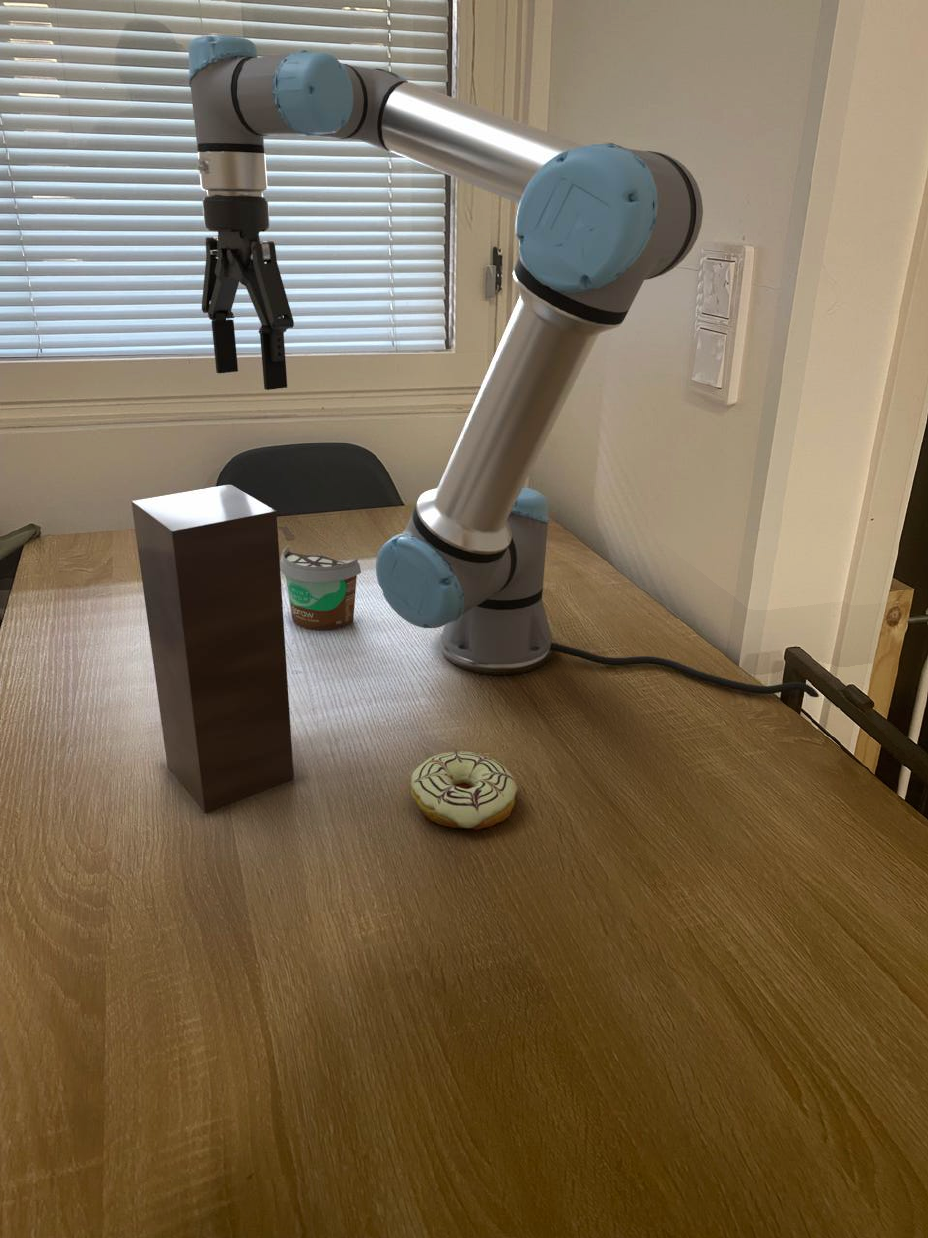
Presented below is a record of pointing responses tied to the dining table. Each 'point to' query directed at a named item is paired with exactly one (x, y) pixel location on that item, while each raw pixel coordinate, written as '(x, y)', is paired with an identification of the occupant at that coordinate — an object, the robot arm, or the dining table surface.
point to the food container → (320, 590)
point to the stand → (217, 640)
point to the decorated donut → (463, 790)
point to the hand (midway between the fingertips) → (250, 380)
